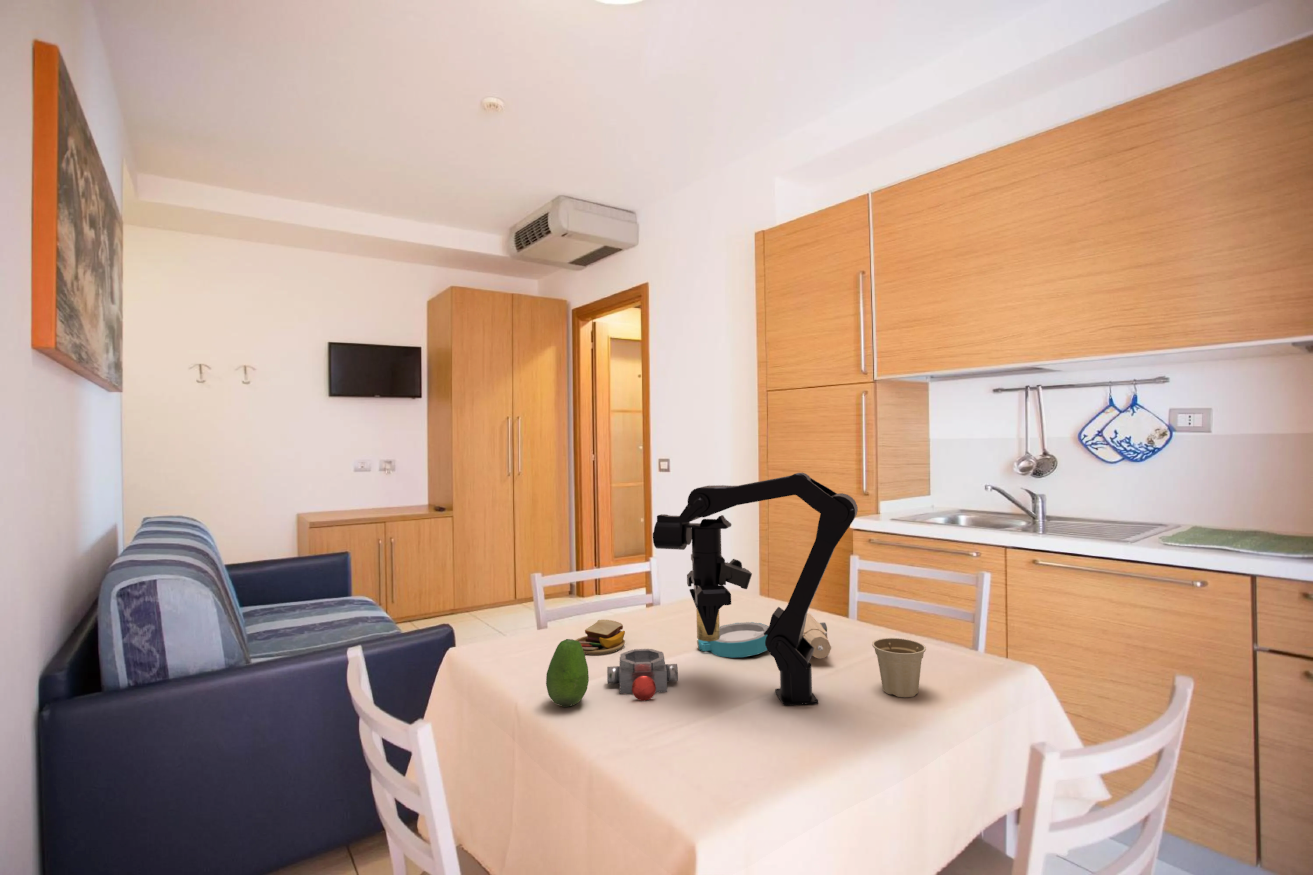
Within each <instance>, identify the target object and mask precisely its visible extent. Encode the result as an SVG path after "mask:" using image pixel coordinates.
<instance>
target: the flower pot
mask: <svg viewBox="0 0 1313 875" xmlns="http://www.w3.org/2000/svg"><path fill="white" fill-rule="evenodd" d="M871 645H872V648H873V649H874V652H875V655H876V658H877V664H878V667H879V668H878V669H879V674H880V680H881V686H882V691H883V692H884V693H886V694H888V695H894V696H896V697H898V698H913V697H915V696H916V695H918V694H919V690H920V679H921V670H922V669H921V668H922V661H923V659H924V653H925V652H926V650H927V647H926V646H925V645H924V644H923V643H921V642H919V641H917V640H916V641H915V640H912V639H909V638H908V639H907V638H900V637H884V638H879V639H875V640H874V641H872V644H871Z"/></svg>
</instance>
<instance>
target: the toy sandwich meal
mask: <svg viewBox="0 0 1313 875" xmlns="http://www.w3.org/2000/svg"><path fill="white" fill-rule="evenodd" d="M623 629H624V624H622V623H621V622H619V621H616V620H611V619H598V620H597V621H595V622H594V623H593V624H592V625H590V626H589V627H587V628H586V629H585V630H584V633H585V634H586V636H581V637H579V638H576V639H575V640H576V641H579V642H580V643H581V646H582V648H583V651H584V655H590V656H591V655H594V656H595V655H598V656H599V655H607V654H611V653H615V652H618V651H619V650H621V648H623V647H624V645H625V644H626V641H625V639H624V638H625V635H626V631H625V630H623Z"/></svg>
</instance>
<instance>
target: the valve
mask: <svg viewBox="0 0 1313 875" xmlns="http://www.w3.org/2000/svg"><path fill="white" fill-rule="evenodd" d="M619 655H620V656H619V665H617V666H615V665H613V666H607V670H606V673H607V675H606V678H607V679H606V680H607V685H616V684H619V695H630V694H631V695H633V696H634V698H636V699H637V700H639V701H642V702H645V701H649V700H651V699H652V698H653V697H654V696H655V695H656V693H668V682H679V671H678V663H670V664H669V663H666V661H665V655H664V652H663V651H660V650H657V649H653V648H636V649H630V650H627V651H625V652H622V653H620V654H619Z"/></svg>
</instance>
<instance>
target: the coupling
mask: <svg viewBox="0 0 1313 875" xmlns="http://www.w3.org/2000/svg"><path fill="white" fill-rule="evenodd" d="M695 609H696V610H695V612H696V639H697V640H698V639H699V640H702V641H716V640H718V639H719V638H720V627H721V626H720V610H719V611H718V615H717V620H716V624H715V628H714V633H713V635H707V633H706V630H705V627H704V625H703V622H702V620H701V617H700V614H699V612H698V609H697V608H695Z"/></svg>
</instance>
